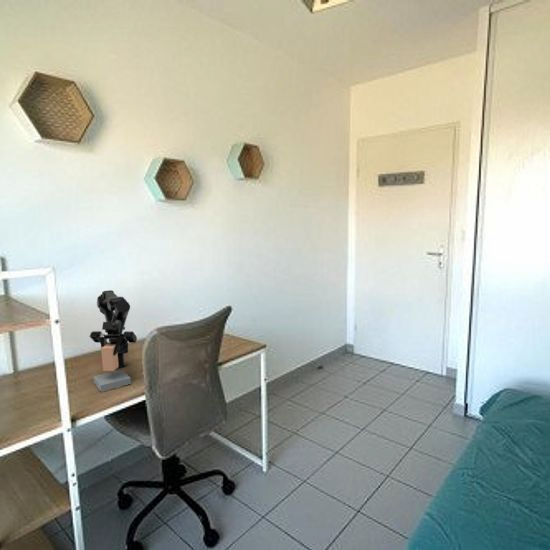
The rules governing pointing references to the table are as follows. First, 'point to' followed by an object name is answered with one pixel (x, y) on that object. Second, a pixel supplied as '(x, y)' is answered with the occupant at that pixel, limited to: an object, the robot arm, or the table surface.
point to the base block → (111, 380)
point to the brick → (109, 358)
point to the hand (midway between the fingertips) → (108, 355)
